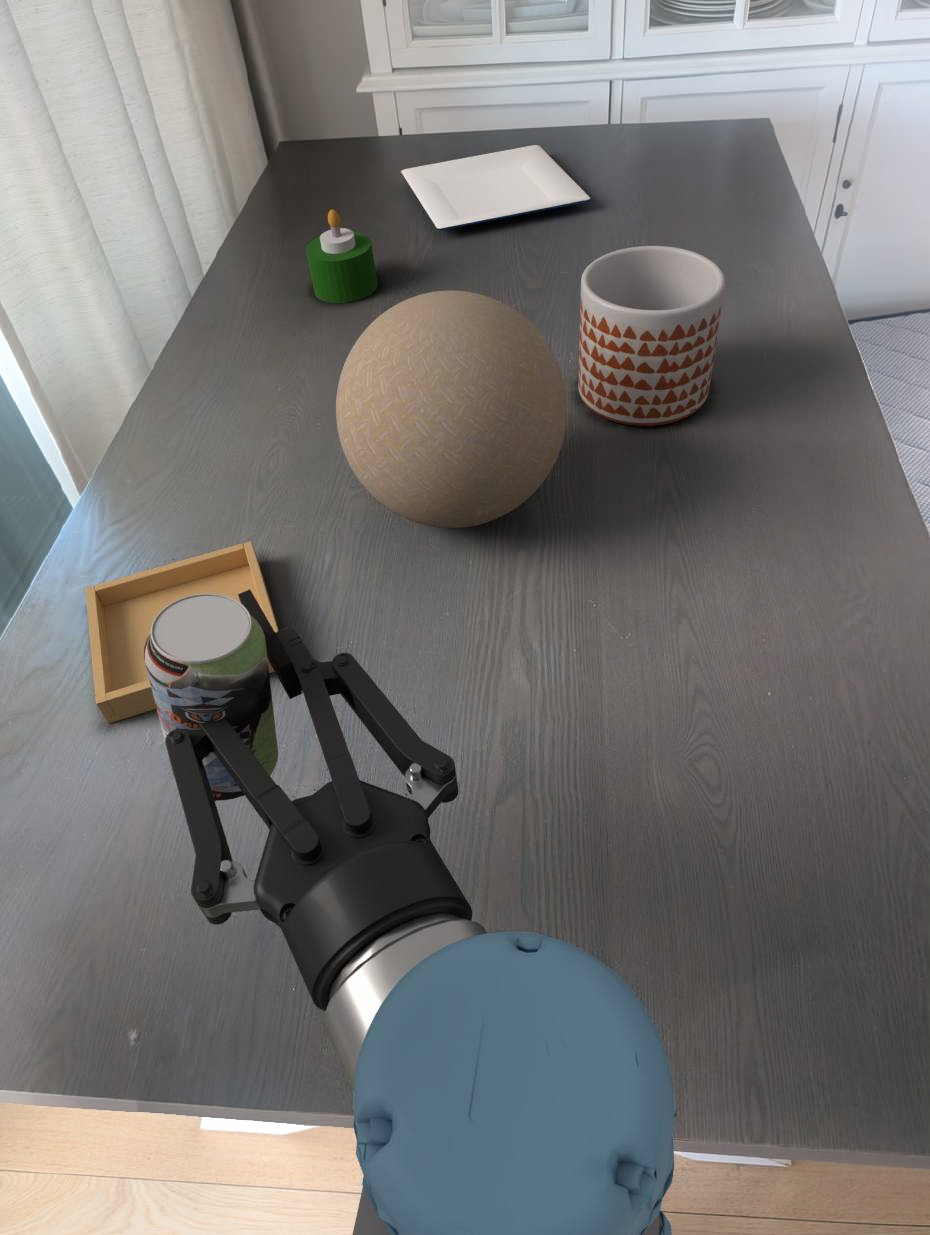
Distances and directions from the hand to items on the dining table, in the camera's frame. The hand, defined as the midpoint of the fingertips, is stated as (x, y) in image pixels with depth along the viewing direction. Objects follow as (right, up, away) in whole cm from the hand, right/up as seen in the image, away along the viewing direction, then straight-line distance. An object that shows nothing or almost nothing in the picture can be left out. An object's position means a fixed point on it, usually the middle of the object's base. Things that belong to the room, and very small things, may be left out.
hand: (219, 621), depth 52 cm
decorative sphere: (+14, +11, +34) cm, 38 cm away
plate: (+18, +62, +81) cm, 104 cm away
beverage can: (+1, -9, +1) cm, 9 cm away
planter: (+33, +24, +44) cm, 60 cm away
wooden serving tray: (-9, -1, +24) cm, 26 cm away
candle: (-1, +43, +65) cm, 78 cm away
